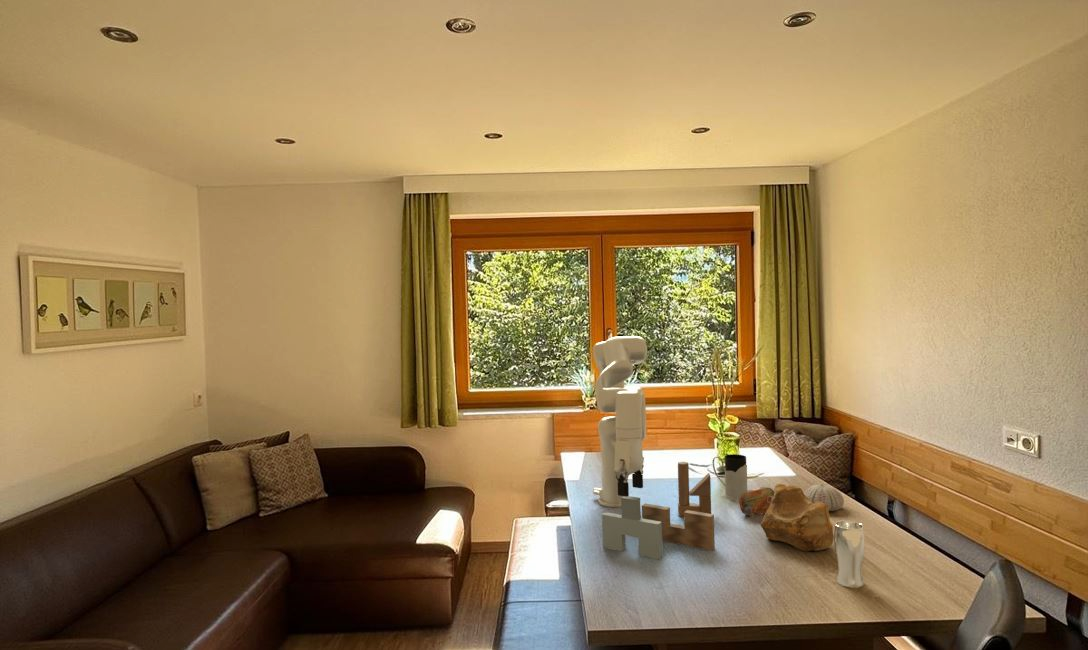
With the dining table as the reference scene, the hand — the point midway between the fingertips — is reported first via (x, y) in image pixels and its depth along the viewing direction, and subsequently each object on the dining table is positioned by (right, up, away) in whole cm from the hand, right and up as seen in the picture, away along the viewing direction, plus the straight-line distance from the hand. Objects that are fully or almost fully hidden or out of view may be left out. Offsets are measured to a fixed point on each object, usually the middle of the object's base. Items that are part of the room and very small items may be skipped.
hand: (630, 491), depth 184 cm
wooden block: (+26, -16, +31) cm, 44 cm away
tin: (+48, -16, +31) cm, 59 cm away
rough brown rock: (+49, -17, +5) cm, 52 cm away
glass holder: (+44, -15, +51) cm, 69 cm away
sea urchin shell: (+71, -15, +35) cm, 81 cm away
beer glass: (+53, -17, -23) cm, 60 cm away
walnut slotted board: (+15, -17, +7) cm, 24 cm away
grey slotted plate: (+1, -18, +1) cm, 18 cm away
